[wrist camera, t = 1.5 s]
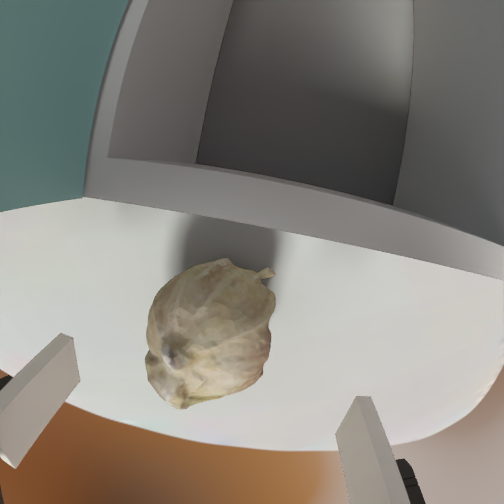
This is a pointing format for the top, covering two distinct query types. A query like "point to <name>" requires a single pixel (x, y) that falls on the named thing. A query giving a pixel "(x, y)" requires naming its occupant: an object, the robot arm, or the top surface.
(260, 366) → the garlic bulb
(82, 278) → the top surface
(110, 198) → the gray storage box
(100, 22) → the cover
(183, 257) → the top surface
